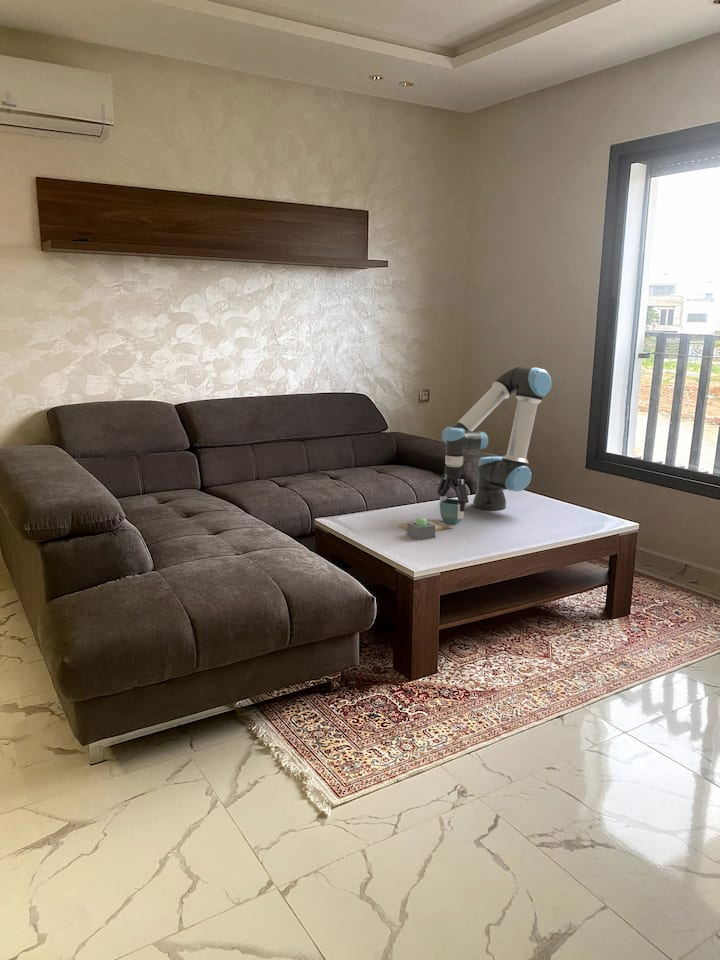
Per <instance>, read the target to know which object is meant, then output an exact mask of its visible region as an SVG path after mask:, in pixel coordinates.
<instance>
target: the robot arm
mask: <svg viewBox="0 0 720 960" xmlns="http://www.w3.org/2000/svg"><path fill="white" fill-rule="evenodd" d="M551 389H552V377H551V375H550V374H549V373H548V371H547V370H545V369H544V368H539V367H527V366H526V367H525V366H515V367H512V368H510V369H508V370H506V371H504V372H503V373H502V374H501V375H499V376H498V377H497V378H496V379H495V380H494V381H493V382H492V384H491V388H490V389H489V390H488V391H487V392H486V393H484V395H483V396H481V398H480V399H479V400H478V401H476V403H475V404H474V405H472V407H470V409H469V410H468V411H467V412H465V414H464V415H463V416H462V417H461V418H460V419H459V420H458V421H457V422H456V423H455V424H454V425H453V426H447V427H445V428H444V429H443V430H442V433H441V438H442V441H443V443H445V457H444V459H445V462H444V464H445V466H444V473H442V475H441V479H440V483H439V485H438V488H437V490H436V493H437V494H438V495H439V503H440V502H441V501H443V500H445V499H448V498H447V496H448V495H447V493H448V492H449V490H450V489H451V488H452V489H453V490H454V492H455V494H456V497H457V500H459V503H458V514H457V519H461V520H462V519H464V516H465V511H466V510H465V507H466V504H469V503H470V501H469V498H468V492H467V488H466V480H465V479H463V478H462V479H461V476H462V475H463V473H464V466H463V465H464V455H465V451H466V452H467V451H480V450H484V449H486V448H487V447H488V445H489V437H488V434H487V433H486V432H484V431H479V430H478V431H474V430H476V428H478V426H480V424H482V422H483V421H484V420H485V419H486V418H487V417H488V416H489V415H490V414H491V413H492V412H493V411H494V410H495V409H496V408H497V407H498V406H499V405H500V404H501V403H502V402H503V401H504V400H505V399H508V398H510V397H511V396H512V395H514V394H515V398H516V399H517V403H516V404H517V405H516V409H515V413H514V417H513V418H514V419H513V423H512V429H511V433H510V436H509V437H510V438H509V441H508V447H507V451H506V454H505V455H503V456H485V457H480V458H479V460H478V465H477V489H476V492H475V495H474V498H473V500H472V507H474V508H475V509H476V508H477V509H480V510H487V511H499V510H504V509H506V508H507V499H506V496H505V493H504V489H505V490H508V491H511V492H522V491H523V490H524V489H526V488H527V487H528V486H529V484H530V482H531V481H532V471H531V469H530V468H529V463H530V462H529V461H528V459H527V456H528V452H529V447H530V442H531V436H532V432H533V429H534V423H535V419H536V414H537V409H538V406H539V404H540V403H542V402H543V398H544V397H545V396H546V395H548V393H550V391H551ZM461 500H462V501H461Z"/></svg>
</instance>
